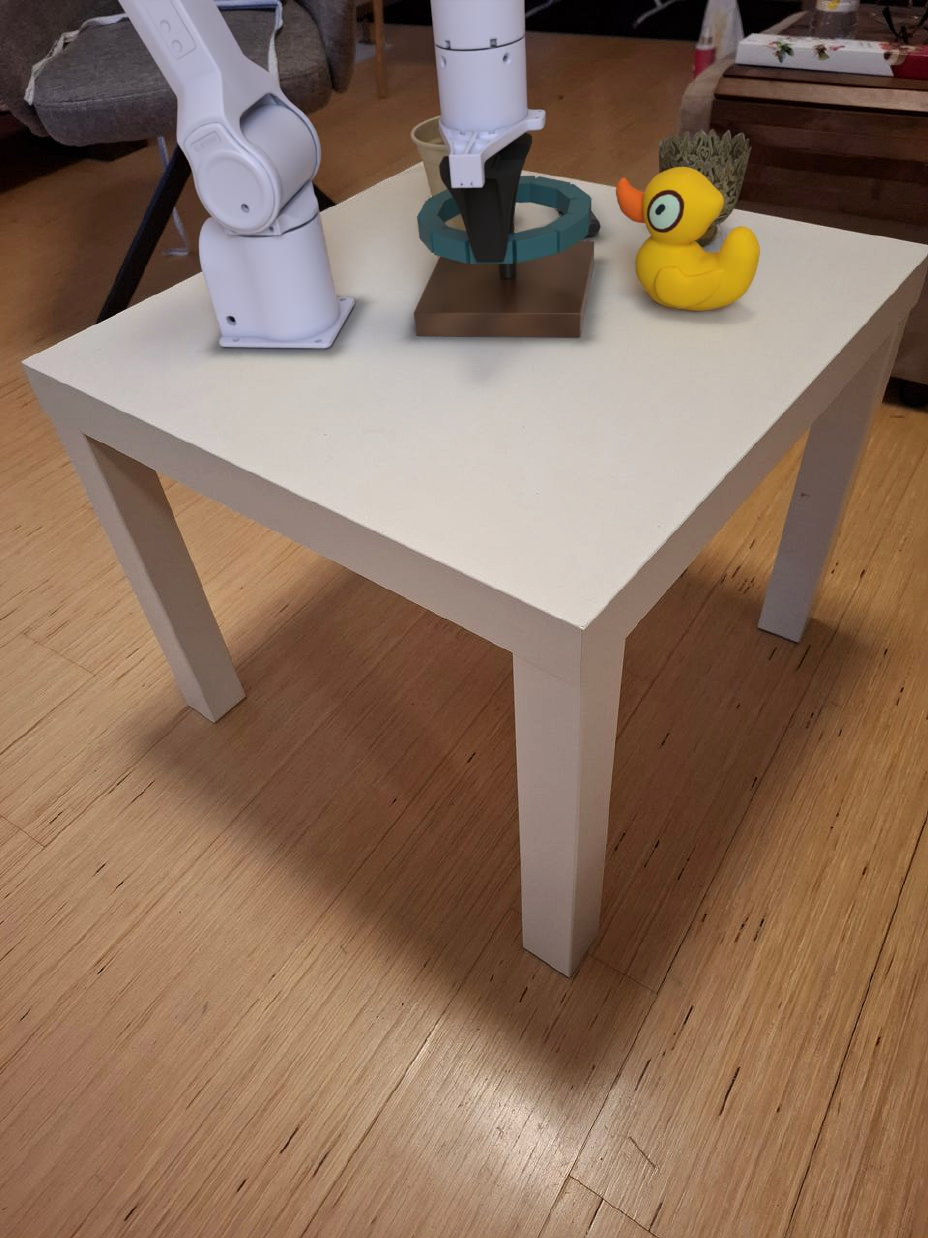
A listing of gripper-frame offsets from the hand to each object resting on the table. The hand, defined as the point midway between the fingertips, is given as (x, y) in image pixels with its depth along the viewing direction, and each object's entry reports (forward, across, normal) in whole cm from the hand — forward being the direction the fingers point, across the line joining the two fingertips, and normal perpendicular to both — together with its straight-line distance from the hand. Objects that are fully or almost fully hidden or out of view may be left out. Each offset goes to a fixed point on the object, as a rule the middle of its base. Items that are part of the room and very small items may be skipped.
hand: (492, 254), depth 64 cm
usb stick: (+6, +22, -4) cm, 23 cm away
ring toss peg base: (+6, +6, 0) cm, 8 cm away
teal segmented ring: (0, +6, 0) cm, 6 cm away
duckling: (+6, +5, -14) cm, 16 cm away
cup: (+6, +17, -15) cm, 23 cm away
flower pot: (+6, +21, +6) cm, 23 cm away
